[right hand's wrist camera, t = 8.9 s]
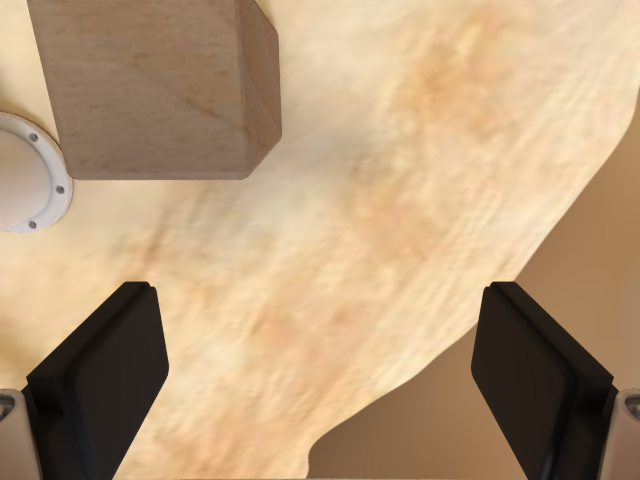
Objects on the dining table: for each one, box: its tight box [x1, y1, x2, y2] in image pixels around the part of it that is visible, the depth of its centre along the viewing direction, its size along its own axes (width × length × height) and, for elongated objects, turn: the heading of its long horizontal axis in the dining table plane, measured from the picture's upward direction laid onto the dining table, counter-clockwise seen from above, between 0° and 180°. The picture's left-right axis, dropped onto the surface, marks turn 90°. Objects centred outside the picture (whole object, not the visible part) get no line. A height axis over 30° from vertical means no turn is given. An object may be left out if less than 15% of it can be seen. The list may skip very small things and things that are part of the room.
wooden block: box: [27, 0, 282, 180], centre depth 29 cm, size 10×10×20 cm
